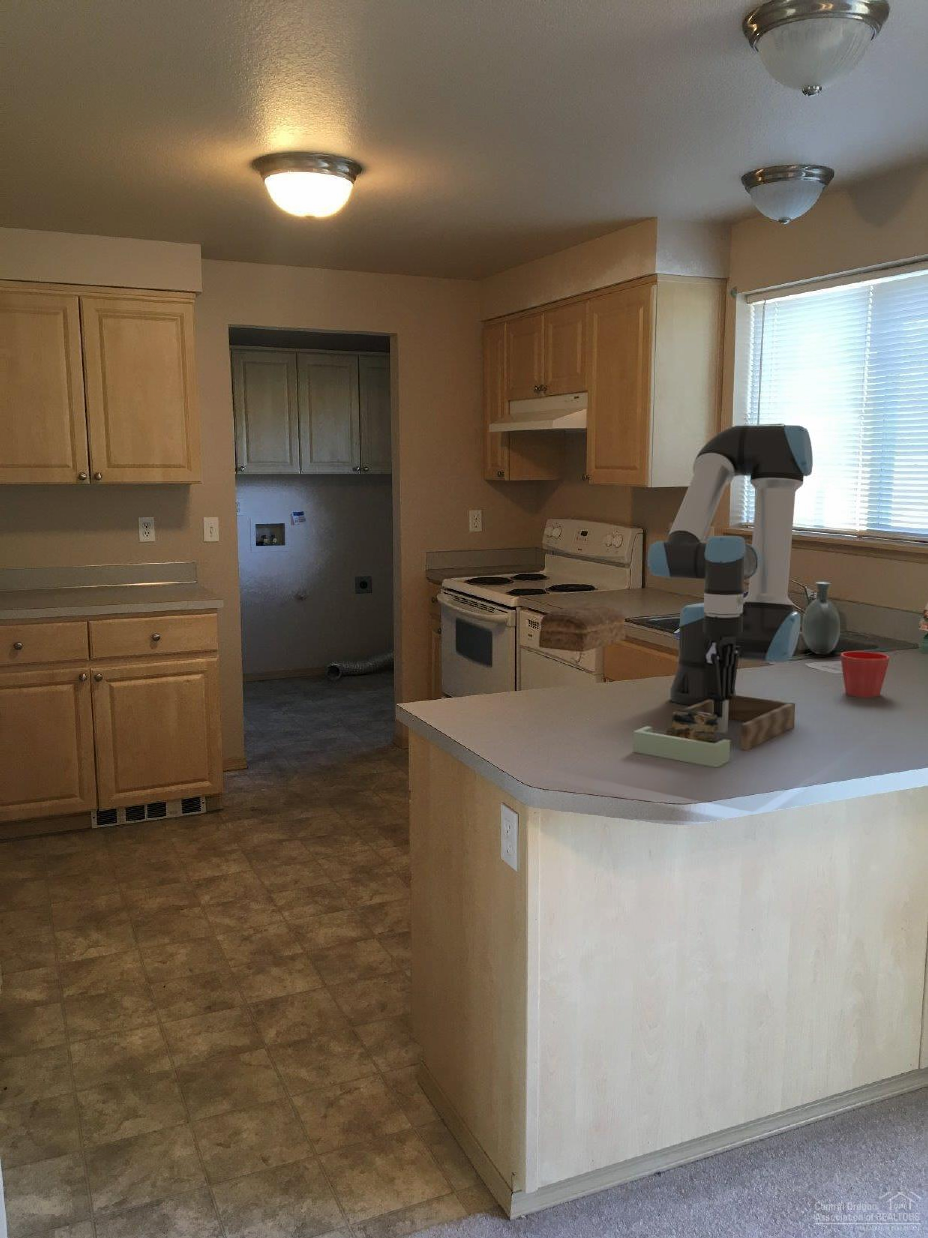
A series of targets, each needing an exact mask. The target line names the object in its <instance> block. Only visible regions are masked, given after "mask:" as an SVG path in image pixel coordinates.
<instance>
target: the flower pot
mask: <svg viewBox="0 0 928 1238" xmlns="http://www.w3.org/2000/svg"><path fill="white" fill-rule="evenodd" d="M840 661H841V668H842V677H843V683H844V688H845V690H844V691H845V693H846V694H847V695H849V696H853V697H858V698H876V697H879V696H880V694H881V692H882V688H883V684H884V682H885V677H886V673H887V670H888V666H889V661H890V656H889V655H886V654H883V653H879V652H870V651H861V650H859V651H857V650H856V651H855V650H853V651H844V652H842V653H840Z"/></svg>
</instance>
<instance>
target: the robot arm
mask: <svg viewBox="0 0 928 1238" xmlns="http://www.w3.org/2000/svg"><path fill="white" fill-rule="evenodd" d="M813 460H814V459H813V448H812V442H811V437H810V433H809V431H808V429H807V427H806V426H805V425H804V424H801V423H786V422H784V423H770V424H769V423H768V424H739V425H734V426H731V427H728V428H726V429H723V430H722V431H720V432H719V433H717V434H716V435H715V436H713V437H712V438H710V440H708V441H707V442H706V444H704V445H703V447H702V448H701V449H700V451H699V452H698V454H697V455H696V457H695V459H694V462H693V465H692V473H693V476H692V477H691V481H690V482H689V485H688V488H687V489H686V492H685V495H684V498H683V499H682V502H681V505H680V507H679V509H678V512H677V514H676V516H675V519H674V521H673V524H672V526H671V528H670V530H669V533H668V534H667V535H668V536H667V538H666V540H665V541H664V540H660V541H654V542H652V544H650V546H649V549H648V555H647V566H648V569H649V571H650V573H651V575H653V576H654V577H661V578H669V579H672V578H673V579H702V580H704V590H703V591H704V594H703V602H698V603H693V604H688V605H685V606H684V607H683V608H682V609H681V610H680V614H679V615H680V617H679V624H678V627H679V630H678V631H679V633H678V635H679V637H678V639H679V640H678V641H679V643H678V667H677V671H676V673H675V675H674V676H675V677H674V679H673V681H672V684H671V688H670V691H669V693H670V695H669V699H670V701H672V702H674V703H677V704H681V705H687V706H693V705H695V704H698V703H701V702H703V701H706V700H709V699H710V700H713V714H716V715H717V718H718V719H717V720H716V723H718V729H717V730H715V732H714V733H721V734H726V733H728V732H729V730H728V729H729V728H728V727H729V718H728V705H729V700H728V699H731V700H733V699H734V696H730V695H737V691H736V681H737V673H738V672H737V671H738V666H739V665H738V664H739V661H740V660H742V661H752V662H753V661H754V662H764V663H785V662H788V661H789V660H790V659H791V658H792V656H793V655H794V653H795V650H796V649H797V648H796V647H797V644H798V640H799V637H800V631H801V622H802V621H801V620H802V619H801V614H800V613H799V612H797V611H794V608H795V607H794V606H795V605H794V604H795V603H793V601H792V600H791V599H790V598H789V595H788V592H789V591H788V590H789V581H790V579H789V578H790V570H791V569H790V567H791V554H792V553H791V552H792V541H793V539H792V538H793V527H794V516H795V502H796V492H797V491H798V490H799V489H800V488H801V487H802V486H803V484H804V478H805V477H808V476H810V475H811V474H812V472H813V466H814V465H813V462H814V461H813ZM739 476H743V477H747V476H748V477H750V479H749V484H750V485H752V487H753V488H754V489H755V501H754V502H755V503H754V504H755V505H754V515H753V530H752V540H751V544H749V543H746V540H745V538H744V537H742V536H740V535H739V536H737V535H711V536H708V537H707V539H706V536H707V533H708V531H709V529H710V526H711V523H712V521H713V518H714V516H715V514H716V511H717V509H718V506H719V503H720V501H721V499H722V497H723V494H724V491H725V488H726V486H728V485H729V484H731V482H732V481H733V480H734V478H735V477H739ZM705 539H706V542H704V541H705ZM748 579H749V580H748ZM745 580H748V593H747V595H746V596H745V597H744V587H745V586H744V585H745Z"/></svg>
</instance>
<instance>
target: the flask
mask: <svg viewBox="0 0 928 1238" xmlns="http://www.w3.org/2000/svg"><path fill="white" fill-rule="evenodd" d="M814 585H816V586H817V598H816V599H814V600H813V601H812V602H810V603H809V604H808V606H807V607H806V608H805V611H804V612H803V616H802V619H801V620H802V621H801V630H802V631H801V633H802V637H803V640H804V642H805V644H806V646H807V647H808V649H809V650H810V651H811V652H812V653H814V654H817V655H823V656H824V655H825V656H826V655H829V654H831V652H832V651H833V650H834V649H835V648H836V646H837V644H838V641H839V638H840V632H841V621H840V619H841V618H840V615H839V612H838V610H837V608H836V606H835V605H834V604H833V603H832V602H831V601H829V600H828V597H827V596H828V590H829V586H831V585H832V583H830V582H827V581H816V582H815V583H814Z"/></svg>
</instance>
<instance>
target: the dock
mask: <svg viewBox="0 0 928 1238" xmlns="http://www.w3.org/2000/svg"><path fill="white" fill-rule="evenodd" d="M632 735H633V736H632V737H633V739H632V752H633V753H637V754H643V755H647V756H653V757H659V758H665V759H669V760H675V761H680V762H681V761H682V762H687V763H691V764H695V765H696V764H697V765H701V766H702V765H703V766H706V767H712V768H718V767H721V766H723V765H725V764H727V763H729V762H730V754H731V753H730V751H731V750H730V749H731V740H730V739H725V738H724V739H722V740H719V741H717V742H715V743H714V742H709V741H704V742H703V741H697V740H691V739H685V738H680V737H674V736H668V735H666V734H662V733H661V734H660V733H655V732H653V727H652V726H649V725H646V726H644V727H642V728H638V729H636V730H634V731H633V734H632Z"/></svg>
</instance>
